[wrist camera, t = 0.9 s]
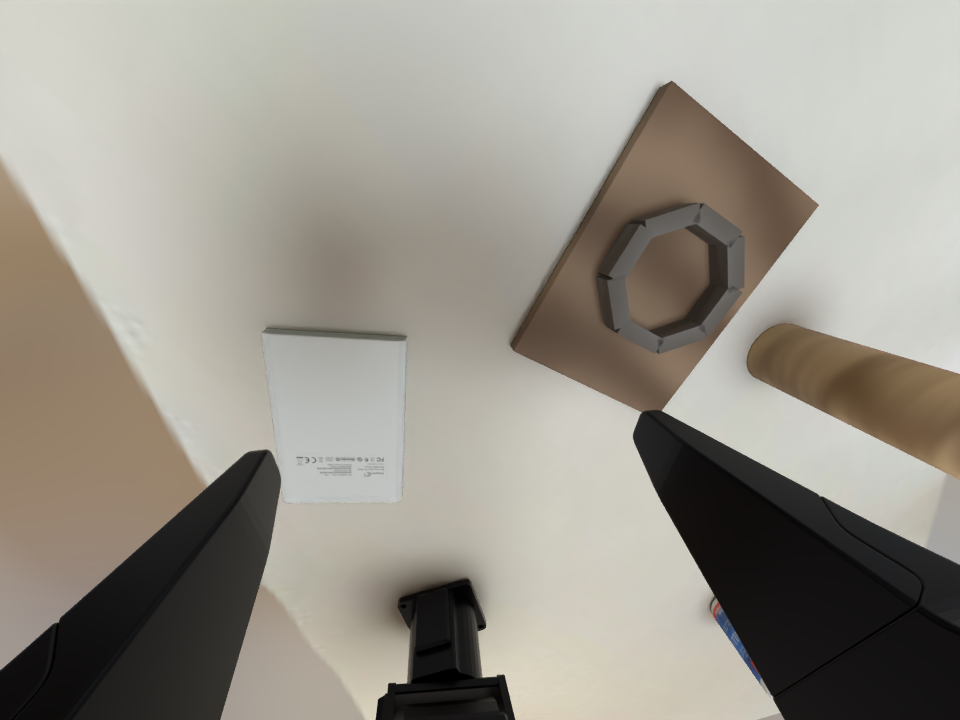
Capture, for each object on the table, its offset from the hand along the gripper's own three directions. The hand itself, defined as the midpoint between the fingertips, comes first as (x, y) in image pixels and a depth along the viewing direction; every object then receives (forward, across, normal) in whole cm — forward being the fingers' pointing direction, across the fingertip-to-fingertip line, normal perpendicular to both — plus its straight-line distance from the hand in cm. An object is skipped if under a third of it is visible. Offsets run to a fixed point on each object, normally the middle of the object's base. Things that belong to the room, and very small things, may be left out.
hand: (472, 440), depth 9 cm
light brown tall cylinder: (+11, -24, +6) cm, 28 cm away
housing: (+13, -14, +1) cm, 19 cm away
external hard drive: (+14, +6, +10) cm, 18 cm away
